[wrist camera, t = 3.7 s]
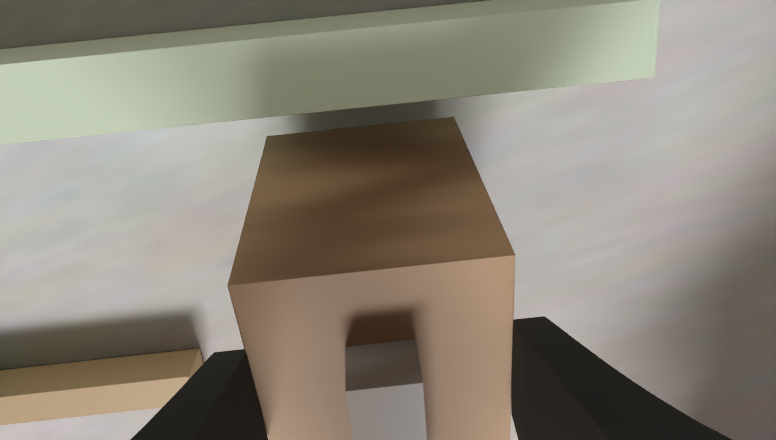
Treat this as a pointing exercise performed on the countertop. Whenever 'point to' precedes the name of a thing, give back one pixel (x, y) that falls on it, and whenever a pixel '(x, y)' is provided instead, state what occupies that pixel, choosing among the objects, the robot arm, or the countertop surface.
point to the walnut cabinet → (376, 287)
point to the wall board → (288, 111)
